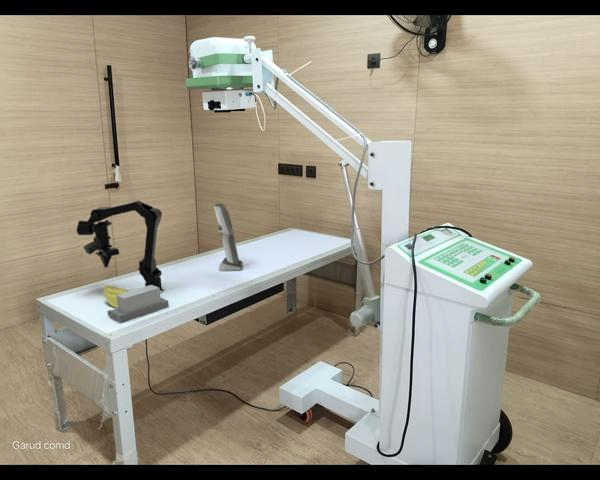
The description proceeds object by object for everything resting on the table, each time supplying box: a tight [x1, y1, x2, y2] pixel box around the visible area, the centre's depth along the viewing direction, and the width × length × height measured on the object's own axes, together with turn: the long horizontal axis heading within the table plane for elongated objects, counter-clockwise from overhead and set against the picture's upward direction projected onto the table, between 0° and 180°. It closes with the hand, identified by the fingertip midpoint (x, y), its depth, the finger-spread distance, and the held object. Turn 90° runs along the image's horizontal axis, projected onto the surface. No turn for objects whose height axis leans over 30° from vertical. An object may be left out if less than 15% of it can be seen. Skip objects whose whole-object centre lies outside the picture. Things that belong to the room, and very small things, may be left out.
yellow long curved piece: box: [103, 284, 129, 309], centre depth 211 cm, size 20×7×10 cm
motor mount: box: [106, 285, 170, 324], centre depth 200 cm, size 22×12×9 cm, turn 137°
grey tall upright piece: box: [213, 203, 244, 272], centre depth 255 cm, size 12×13×35 cm
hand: (106, 267), depth 224 cm, fingers closed
